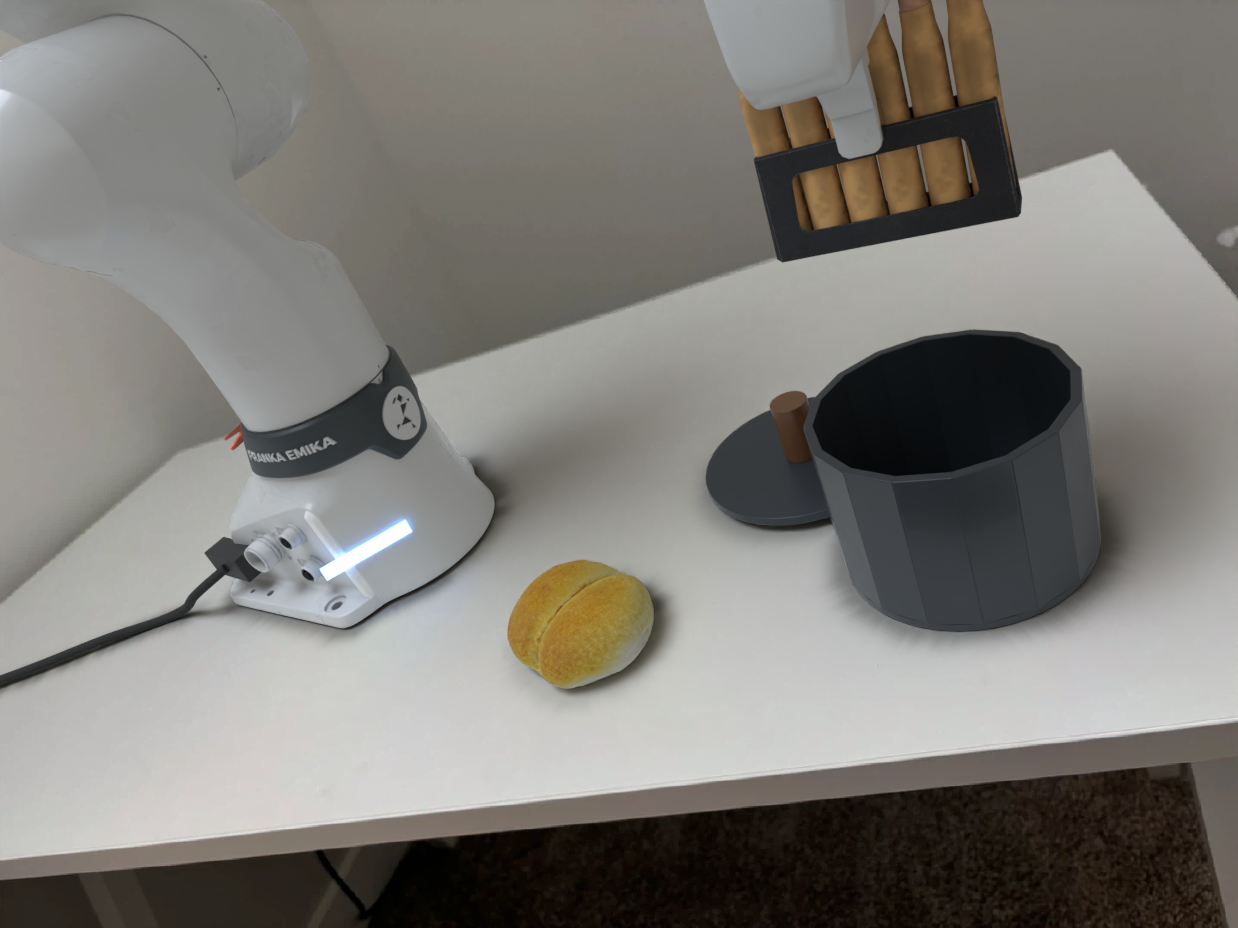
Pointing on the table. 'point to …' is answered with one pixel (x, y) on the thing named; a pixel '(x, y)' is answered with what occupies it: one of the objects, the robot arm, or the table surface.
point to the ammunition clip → (894, 145)
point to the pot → (960, 478)
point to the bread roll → (580, 623)
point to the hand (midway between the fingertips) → (870, 136)
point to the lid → (769, 468)
